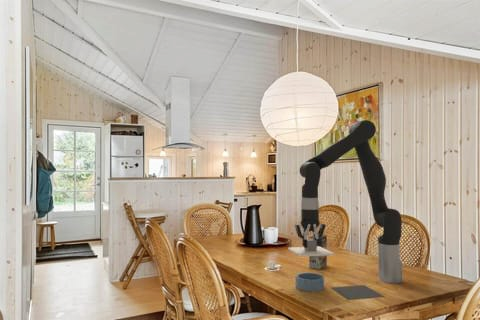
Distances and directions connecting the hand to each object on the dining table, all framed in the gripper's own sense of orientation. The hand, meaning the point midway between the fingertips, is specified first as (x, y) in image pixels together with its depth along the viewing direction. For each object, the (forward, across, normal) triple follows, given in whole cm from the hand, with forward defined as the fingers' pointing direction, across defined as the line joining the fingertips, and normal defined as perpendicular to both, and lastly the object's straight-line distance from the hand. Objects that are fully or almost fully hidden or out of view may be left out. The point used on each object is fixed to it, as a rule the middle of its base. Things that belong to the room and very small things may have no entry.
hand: (310, 247), depth 163 cm
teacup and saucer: (+18, +4, -33) cm, 38 cm away
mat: (+17, -16, +11) cm, 26 cm away
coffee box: (+18, -18, -33) cm, 42 cm away
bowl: (+18, 0, 0) cm, 18 cm away
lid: (+2, 0, 0) cm, 2 cm away
